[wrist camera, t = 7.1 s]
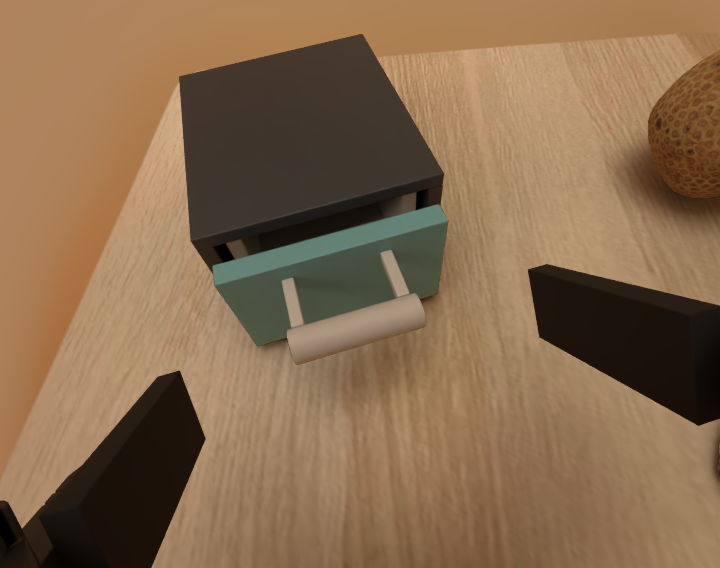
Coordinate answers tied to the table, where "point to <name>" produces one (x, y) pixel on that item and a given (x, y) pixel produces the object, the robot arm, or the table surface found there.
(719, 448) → the mineral rock
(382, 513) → the table surface
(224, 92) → the dark drawer cabinet
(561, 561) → the table surface
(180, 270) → the table surface
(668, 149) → the natural sponge
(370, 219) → the drawer
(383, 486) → the table surface
